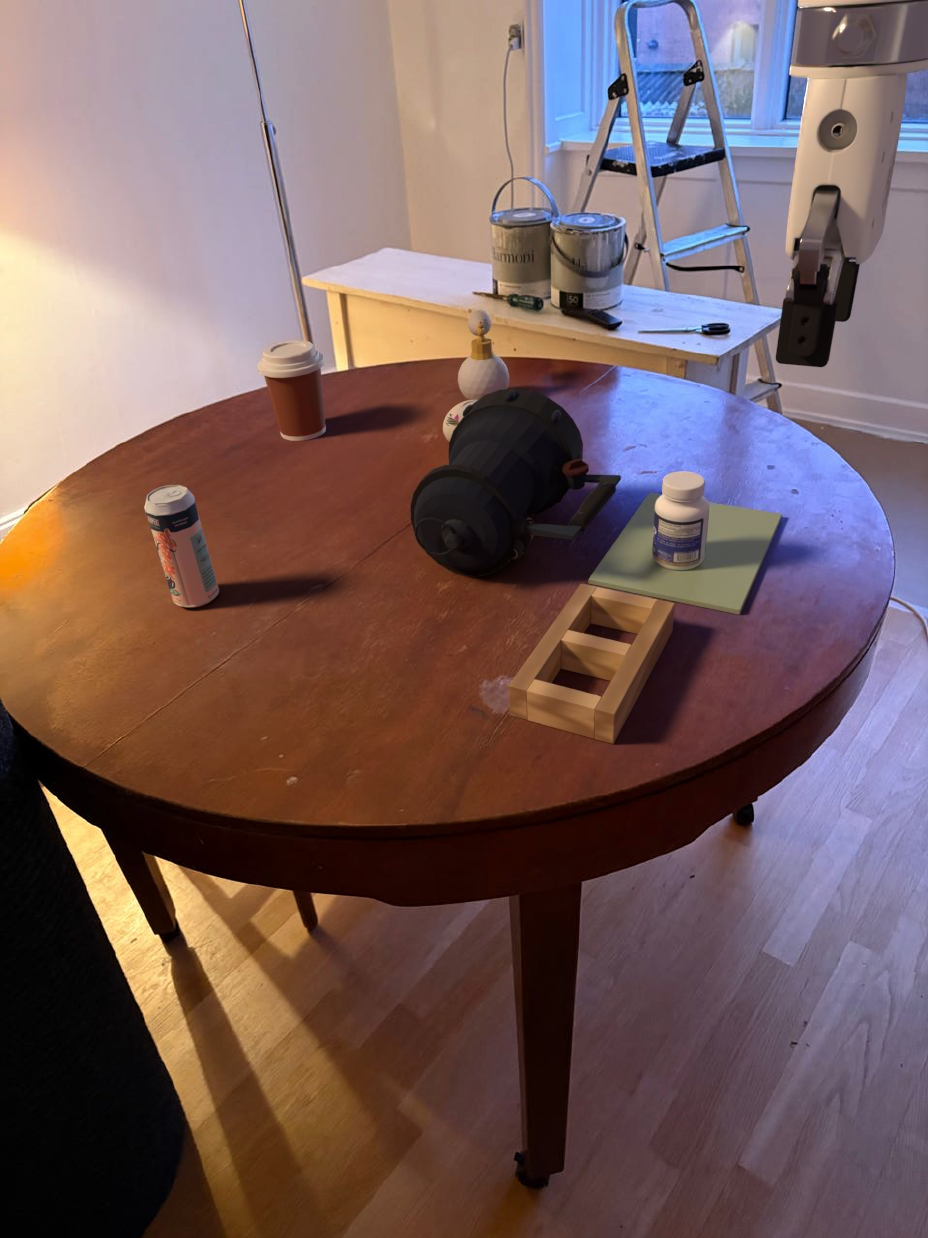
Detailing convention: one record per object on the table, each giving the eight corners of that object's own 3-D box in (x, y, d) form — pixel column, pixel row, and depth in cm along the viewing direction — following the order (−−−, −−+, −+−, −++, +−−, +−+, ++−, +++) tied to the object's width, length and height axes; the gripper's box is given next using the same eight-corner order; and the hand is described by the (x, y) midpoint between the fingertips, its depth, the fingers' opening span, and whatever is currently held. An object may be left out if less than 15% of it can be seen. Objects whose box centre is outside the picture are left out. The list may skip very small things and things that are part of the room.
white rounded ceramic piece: (464, 466, 113) (460, 417, 110) (434, 453, 117) (430, 405, 114) (510, 447, 117) (508, 398, 114) (480, 435, 121) (477, 387, 118)
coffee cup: (341, 418, 130) (328, 336, 123) (327, 444, 122) (312, 358, 115) (281, 419, 131) (265, 338, 124) (263, 445, 123) (245, 360, 117)
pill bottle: (662, 540, 94) (668, 464, 89) (711, 551, 92) (719, 472, 86) (643, 564, 90) (648, 486, 85) (694, 576, 88) (701, 496, 83)
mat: (781, 518, 97) (782, 513, 97) (739, 615, 83) (740, 609, 83) (648, 497, 104) (648, 492, 103) (588, 583, 89) (588, 578, 89)
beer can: (172, 591, 93) (141, 488, 86) (218, 581, 94) (191, 479, 87) (174, 615, 90) (141, 509, 83) (222, 604, 90) (193, 499, 84)
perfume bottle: (472, 414, 128) (467, 330, 121) (445, 394, 135) (438, 314, 128) (519, 403, 130) (516, 320, 123) (489, 383, 137) (485, 304, 130)
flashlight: (466, 491, 107) (631, 507, 101) (399, 595, 92) (588, 621, 86) (453, 377, 98) (633, 386, 92) (376, 471, 83) (585, 490, 77)
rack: (672, 631, 82) (675, 602, 80) (613, 744, 70) (614, 713, 68) (580, 611, 85) (580, 583, 84) (509, 715, 74) (508, 685, 72)
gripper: (920, 50, 43) (855, 390, 53) (944, 29, 55) (887, 308, 65) (762, 57, 46) (728, 378, 56) (818, 36, 59) (782, 301, 68)
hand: (814, 340), depth 61 cm, fingers open, 9 cm apart
